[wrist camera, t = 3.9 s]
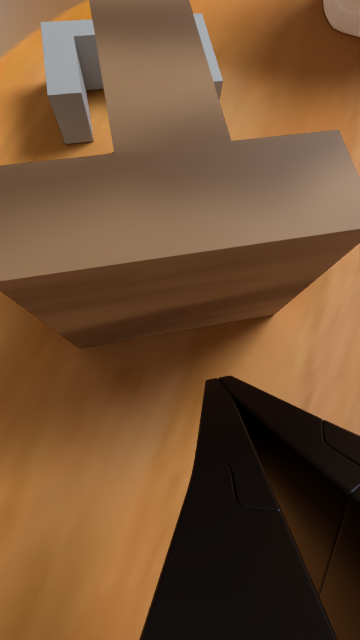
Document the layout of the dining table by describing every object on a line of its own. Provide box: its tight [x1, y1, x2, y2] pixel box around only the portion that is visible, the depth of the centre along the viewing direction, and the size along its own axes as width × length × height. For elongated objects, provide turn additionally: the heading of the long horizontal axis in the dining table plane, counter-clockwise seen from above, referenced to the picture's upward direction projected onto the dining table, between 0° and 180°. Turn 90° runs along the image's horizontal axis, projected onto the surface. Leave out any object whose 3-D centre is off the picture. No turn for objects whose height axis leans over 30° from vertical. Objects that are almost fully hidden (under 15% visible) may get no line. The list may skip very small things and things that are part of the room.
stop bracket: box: [41, 13, 223, 144], centre depth 21 cm, size 6×11×4 cm, turn 101°
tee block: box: [0, 0, 360, 348], centre depth 15 cm, size 14×12×10 cm
